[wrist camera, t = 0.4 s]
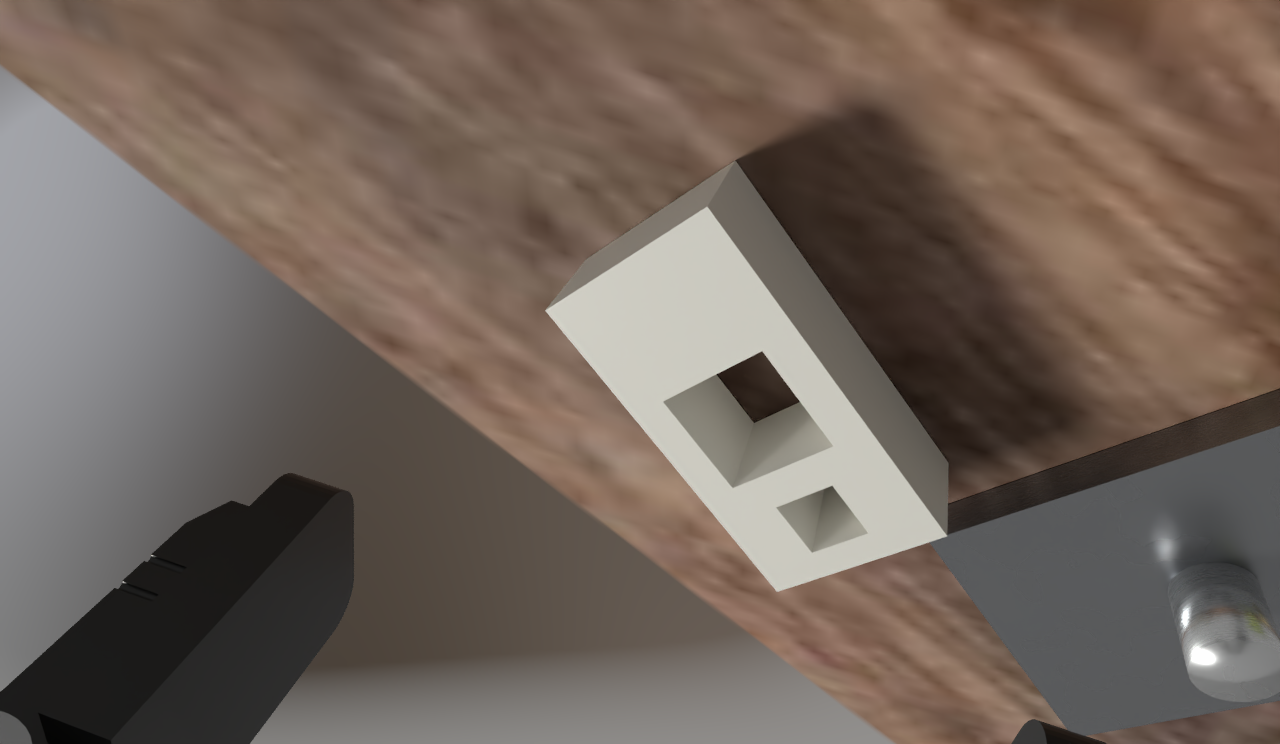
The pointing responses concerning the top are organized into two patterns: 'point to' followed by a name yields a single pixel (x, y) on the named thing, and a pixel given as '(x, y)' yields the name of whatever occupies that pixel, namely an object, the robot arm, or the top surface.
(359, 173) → the top surface
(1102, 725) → the base plate
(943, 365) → the top surface
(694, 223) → the white block with recesses
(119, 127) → the top surface
